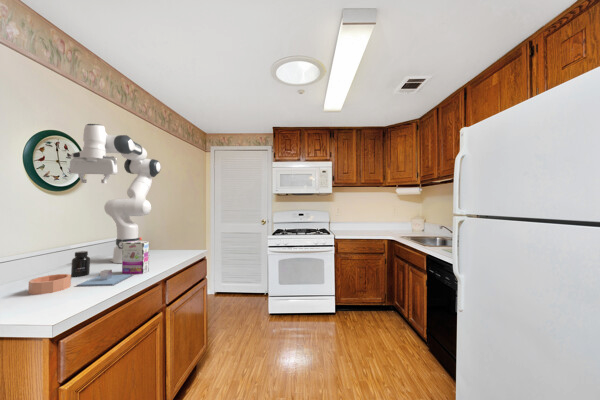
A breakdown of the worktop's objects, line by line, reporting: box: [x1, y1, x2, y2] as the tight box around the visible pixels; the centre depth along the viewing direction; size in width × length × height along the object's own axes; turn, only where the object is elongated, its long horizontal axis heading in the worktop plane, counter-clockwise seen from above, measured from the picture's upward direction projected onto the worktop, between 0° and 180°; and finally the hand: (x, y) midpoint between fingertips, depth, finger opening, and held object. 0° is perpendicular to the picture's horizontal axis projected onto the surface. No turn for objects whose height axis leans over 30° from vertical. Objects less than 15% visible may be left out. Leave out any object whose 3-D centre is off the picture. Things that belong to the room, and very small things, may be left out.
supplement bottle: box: [70, 250, 91, 278], centre depth 121 cm, size 7×7×12 cm
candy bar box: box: [121, 240, 150, 275], centre depth 127 cm, size 11×5×16 cm, turn 88°
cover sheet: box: [77, 269, 132, 287], centre depth 113 cm, size 14×14×5 cm
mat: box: [73, 274, 135, 288], centre depth 113 cm, size 16×16×1 cm
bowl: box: [27, 273, 72, 296], centre depth 101 cm, size 12×12×5 cm
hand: (93, 183), depth 123 cm, fingers open, 8 cm apart
